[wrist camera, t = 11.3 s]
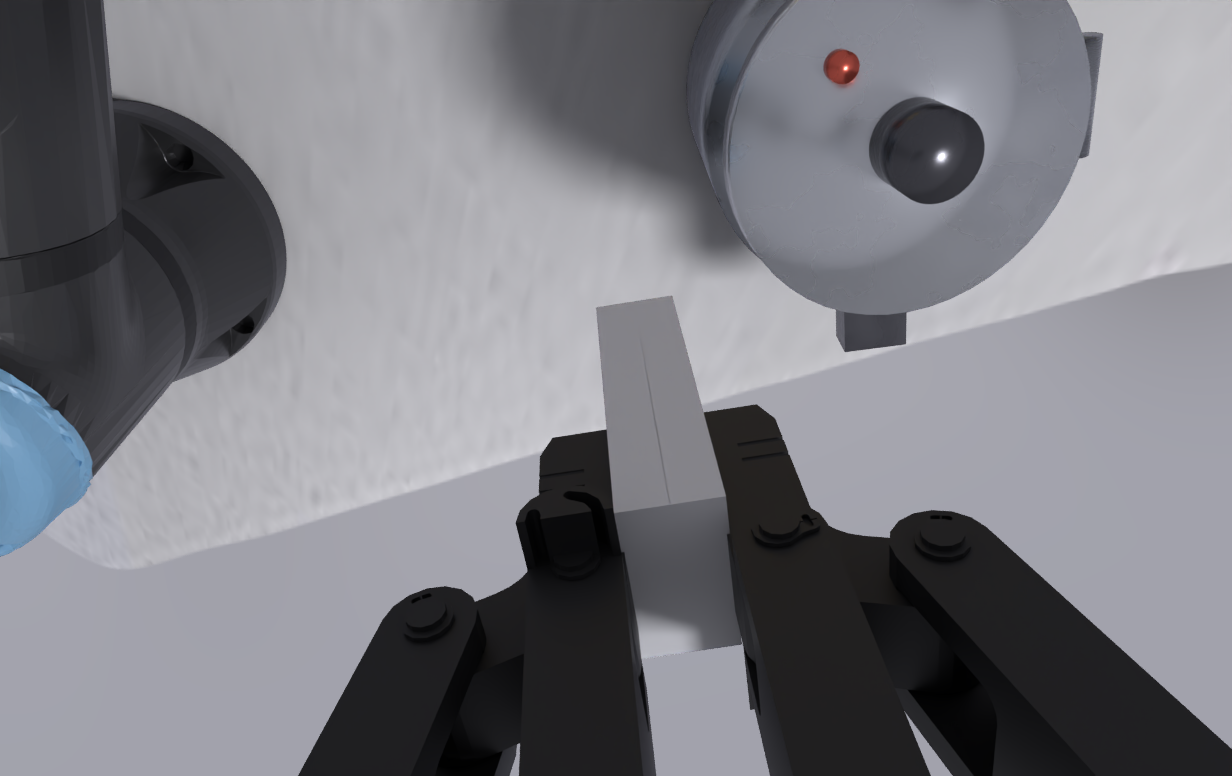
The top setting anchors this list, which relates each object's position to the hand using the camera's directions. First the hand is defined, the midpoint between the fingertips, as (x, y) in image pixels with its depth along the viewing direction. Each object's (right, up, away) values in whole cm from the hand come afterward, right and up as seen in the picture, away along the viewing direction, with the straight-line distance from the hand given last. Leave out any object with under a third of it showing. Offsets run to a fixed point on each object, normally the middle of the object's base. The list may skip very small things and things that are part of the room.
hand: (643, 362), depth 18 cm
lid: (+11, +10, +19) cm, 24 cm away
